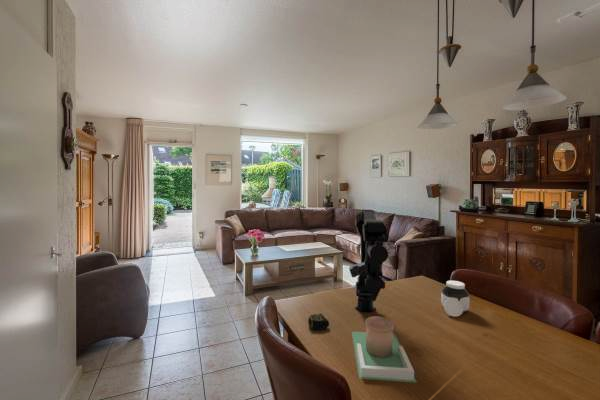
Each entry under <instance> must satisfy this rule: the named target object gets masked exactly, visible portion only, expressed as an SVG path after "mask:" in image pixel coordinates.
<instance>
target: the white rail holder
mask: <svg viewBox="0 0 600 400" xmlns="http://www.w3.org/2000/svg"><path fill="white" fill-rule="evenodd" d="M398 354H399V357H400V359H401V361H402V364H403V366H404V368H398V367H382V366H366V365H365V362H364V358H363V353H362V348H361V344H359V343H357V357H358V362H359V368H360V374H361V377H371V378H386V379H400V380H414V377H415V369H414V368H413V366H412V364H411V361H410V359H409V357H408V355H407V352H406V351H405V349H404V347H403V345H400V346H398Z"/></svg>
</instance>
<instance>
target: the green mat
mask: <svg viewBox="0 0 600 400" xmlns="http://www.w3.org/2000/svg"><path fill="white" fill-rule="evenodd" d="M351 337H352V342H353V348H354V356H355V360H356V368H357V373H358V378H359V379H361V380H373V381H374V380H375V381H388V382H400V383H401V382H403V383H404V382H405V383H418V381H417V379H416V377H415V376H414V380H400V379H386V378H371V377H361V374H360V368H359V362H358V357H357V343H359V344H361V348H362V353H363V358H364V362H365V365H366V366H382V367H398V368H404V366H403V364H402V361H401V359H400V357H399V354H398V346H401V344H400V343H399V340H398V337H397V335H396V334H395V333H393V344H392V355H391V356H390V357H387V358H378V357H374V356H372V355H370V354H369V353H368V352H367V351H366V332H364V331H351Z"/></svg>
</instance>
